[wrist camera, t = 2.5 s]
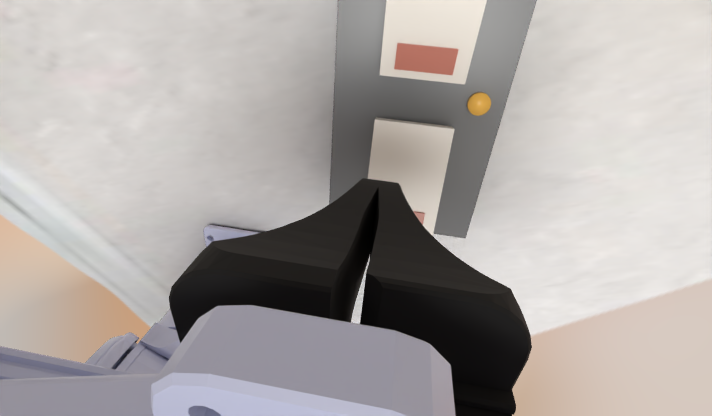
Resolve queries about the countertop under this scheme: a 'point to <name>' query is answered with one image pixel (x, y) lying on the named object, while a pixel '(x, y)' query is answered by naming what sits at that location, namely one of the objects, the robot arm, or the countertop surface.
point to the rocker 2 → (412, 162)
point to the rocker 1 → (430, 39)
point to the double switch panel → (424, 101)
